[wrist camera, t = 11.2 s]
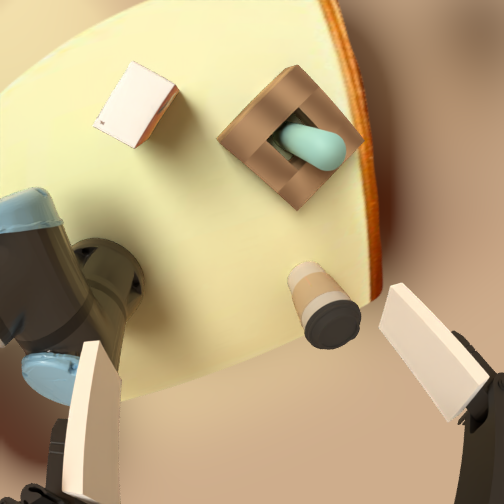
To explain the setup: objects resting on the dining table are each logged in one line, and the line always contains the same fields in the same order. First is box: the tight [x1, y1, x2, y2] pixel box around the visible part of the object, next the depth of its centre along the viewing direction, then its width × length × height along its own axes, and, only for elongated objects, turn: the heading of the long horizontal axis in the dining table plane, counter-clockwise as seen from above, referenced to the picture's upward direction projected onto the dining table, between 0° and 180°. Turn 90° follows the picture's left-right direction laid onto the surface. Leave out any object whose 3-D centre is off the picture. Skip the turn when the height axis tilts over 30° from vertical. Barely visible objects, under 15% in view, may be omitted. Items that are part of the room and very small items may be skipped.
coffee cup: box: [288, 261, 361, 349], centre depth 45 cm, size 9×9×15 cm
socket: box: [216, 65, 364, 211], centre depth 37 cm, size 14×14×5 cm
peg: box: [273, 121, 346, 171], centre depth 33 cm, size 4×4×14 cm
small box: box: [93, 61, 179, 149], centre depth 29 cm, size 8×6×10 cm
